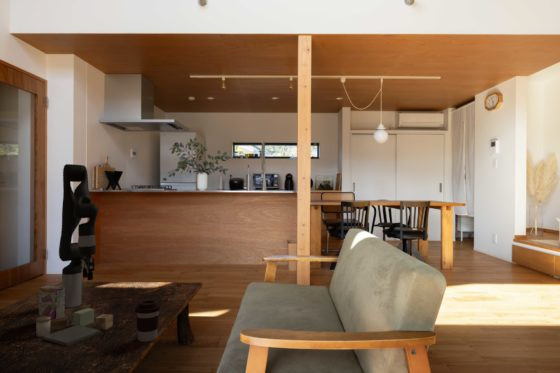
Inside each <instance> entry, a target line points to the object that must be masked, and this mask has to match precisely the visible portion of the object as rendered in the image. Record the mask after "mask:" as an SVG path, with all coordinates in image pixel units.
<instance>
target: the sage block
mask: <svg viewBox="0 0 560 373" xmlns="http://www.w3.org/2000/svg"><path fill="white" fill-rule="evenodd" d="M93 323H95V309H93V308H89V307H88V308H83V309H80V310H78V311H74V312H73V326H75V325H80V326H84V327H86V326H87V325H90V324H93Z"/></svg>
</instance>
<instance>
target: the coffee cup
mask: <svg viewBox="0 0 560 373" xmlns="http://www.w3.org/2000/svg"><path fill="white" fill-rule="evenodd" d="M161 308H162V307H161V304H160V303H158V302H157V301H156V300H153V299H149V300H142V301H140V302H139V303H138V304H137V305H135V307H134V312H135V313H136V315H135V316H136V317H135V318H136V320H135V321H136V330H137V339H138V340H137V341H139V342H142V343H148V342H153V341H154V340H156V339H157V338H158V337H157V336H158V329H159V322H160V321H159V320H160V312H159V311H160V310H161Z"/></svg>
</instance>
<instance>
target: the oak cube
mask: <svg viewBox="0 0 560 373" xmlns="http://www.w3.org/2000/svg"><path fill="white" fill-rule="evenodd" d="M113 320H114V315H113V314H109V313H108V314H104V313H102V314H100V315H99V316H96V317H95V328H94V329H97V330H101V331H102V330H104V331H105V330H108V329H109V328H112V327H113V325H114V324H113V322H114V321H113Z"/></svg>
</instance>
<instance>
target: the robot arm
mask: <svg viewBox="0 0 560 373" xmlns="http://www.w3.org/2000/svg"><path fill="white" fill-rule="evenodd" d="M88 175H89V174H88V168H87V167H86V166H85V165H83V164H74V163H73V164H71V163H70V164H69V163H66V164H64V165H63V169H62V187H63V189H62V190H63V191H62V192H63V194H62V206H61V207H62V210H61V232H60V239H59V246H58V256H59V259H60V260H61V262H70V263H69V264H68V265H65V266H64V267H63V268H62V270H61V287H62V288H65V309H68V308H69V309H70V308H75V307H78V306H80V305H82V295H83V294H82V291H83V290H82V285H83V283H82V282H83V278H84V279H87V281H92V280H93V279H94V272H95V258H94V257H93V255H96V254H97V244H96V243H97V242H96V232H95V231H96V229H95V228H96V227H95V226H96V220H97V217H98V214H99V207H98V204H96V203H94V202H93V203H92V197H91V193H90V188H89V176H88ZM71 182H74V183H79V184H78V185H76V187H75V188H74V191H73V189H72V185H71ZM82 219H89V220H88V221H86V222H83V223H81V220H82ZM77 227H78V230H77V231H78V232H77V233H78V234H77V235H78V238H77V239H78V240H77V242H72V239H73V235H74V232H75V231H76V229H77Z"/></svg>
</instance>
